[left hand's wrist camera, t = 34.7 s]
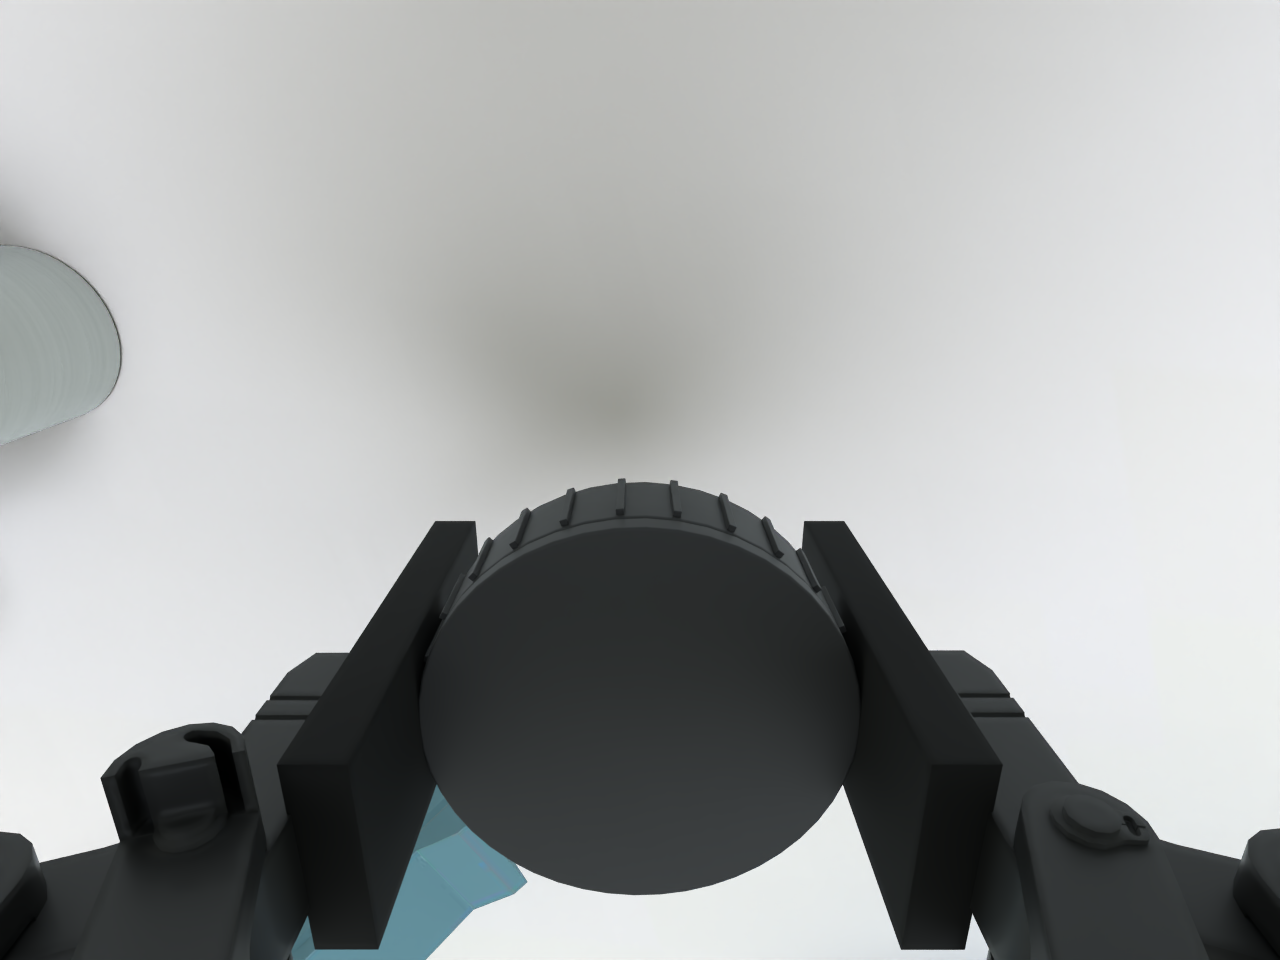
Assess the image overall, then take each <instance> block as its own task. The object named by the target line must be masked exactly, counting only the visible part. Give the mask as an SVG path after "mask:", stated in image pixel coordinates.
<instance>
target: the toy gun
mask: <svg viewBox="0 0 1280 960" xmlns="http://www.w3.org/2000/svg"><path fill="white" fill-rule="evenodd" d="M526 883H527V881H526V879H525V877H524V876H523V874H522V873H521V871H520V870H519V868H518V867H517V865H516V864H515V863H514V862H512V861H510V860H509V859H507V858H506V857H504V856H503V855H501V854H500V853H498V852H497V851H495V850H494V849H492V848H491V847H490V846H488V845H487V844H486V843H485V842H484V841H483V840H481V839H480V838H479V837H478V836H477V835H476V834H474V833H473V832H472V831H471V830H470V829H469V828H468V827H467V826H466V824H465V823H464V822H463V821H462V820H461V819H460V818H459V817H458V816H457V815H456V813H455V812H454V811H453V809H452V808H451V806H450V805H449V804H448V802H447V801H446V799H445V798H444V796H443V795H442V793H441V792H440V790H439V788H438V786H437V785H436V788H435V790H434V793H433V796H432V799H431V802H430V805H429V807H428V810H427V813H426V816H425V819H424V822H423V825H422V827H421V830H420V833H419V836H418V839H417V842H416V844H415V847H414V850H413V853H412V856H411V859H410V861H409V864H408V867H407V870H406V873H405V876H404V878H403V881H402V884H401V887H400V890H399V893H398V896H397V898H396V901H395V904H394V907H393V910H392V913H391V915H390V918H389V921H388V924H387V927H386V930H385V932H384V935H383V938H382V941H381V944H380V947H379V949H378V950H315V948H314V943H313V938H312V934H311V929H310V924H309V919H308V916H307V918H306V920H305V923H304V925H303V927H302V929H301V931H300V933H299V935H298V938H297V940H296V942H295V944H294V946H293V948H292V950H291V951H292V956H293V960H426V959H427V958H428V957H429V956H430V955H431V954H432V953H433V951H434V950H435V949H436V948H437V947H438V946H439V945H440V944H441V943H442V942H443V941H444V940H445V939H446V938H447V937H448V936H449V935H450V934H451V933H452V932H453V931H454V929H455V928H456V927H457V926H458V925H459V924H460V923H461V922H462V921H463V920H464V919H465V918H466V917H467V916H468V915H469V914H470V913H471V912H472V911H473V910H474V909H476V908H479V907H482V906H484V905H487V904H489V903H492V902H494V901H497V900H500V899H502V898H505V897H507V896H510V895H513V894H515V893H516V892H517V891H518V890H519V889H520V888H521V887H522V886H524V885H525V884H526Z"/></svg>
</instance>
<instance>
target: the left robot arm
mask: <svg viewBox="0 0 1280 960" xmlns="http://www.w3.org/2000/svg"><path fill="white" fill-rule="evenodd" d="M802 550H803V552H804V553H805V555H806V557H807V560H808V562H809V564H810V566H811V568H812V570H813V572H814V574H815V576H816V578H817V580H818V583H819V585H820V587H823V586H825V587H826V589H827V591H828V593H829V595H830V597H831V599H832V602H833V604H834V606H835V608H836V610H837V612H838V614H839V616H840V618H841V620H842V622H843V624H844V626H845V628H846V632H844V633H842V636H843V638H844V640H845V642H846V645H847V647H848V650H849V652H850V654H851V657H852V659H853V661H854V665H855V670H856V674H857V678H858V682H859V686H860V698H861V715H860V724H859V733H858V740H857V747H856V751H855V756H854V759H853V762H852V764H851V767H850V769H849V772H848V774H847V777H846V779H845V781H844V783H843V786H844V789H845V792H846V795H847V797H848V800H849V803H850V806H851V809H852V812H853V814H854V817H855V820H856V823H857V826H858V829H859V832H860V834H861V837H862V840H863V843H864V846H865V849H866V851H867V854H868V857H869V860H870V863H871V866H872V868H873V871H874V874H875V877H876V880H877V883H878V885H879V888H880V891H881V894H882V897H883V900H884V903H885V905H886V908H887V911H888V914H889V917H890V920H891V922H892V925H893V928H894V931H895V934H896V937H897V939H898V942H899V945H900V948H901V950H965V946H966V941H967V936H968V931H969V926H970V922H971V917H972V913H973V916H974V918H975V920H976V922H977V924H978V926H979V928H980V930H981V933H982V935H983V937H984V939H985V941H986V943H987V945H988V947H989V951H988V956H987V960H1280V829H1270V830H1260V831H1259V832H1258V833H1257V834H1255V835H1254V836H1253V837H1252V838H1250V839H1249V840H1248V843H1247V845H1246V848H1245V851H1244V854H1243V856H1242V859H1241V860H1240V859H1236V858H1231V857H1227V856H1223V855H1218V854H1214V853H1210V852H1206V851H1201V850H1197V849H1193V848H1189V847H1184V846H1180V845H1176V844H1173V843H1169V842H1166V841H1163V840H1160V839H1159V838H1158V836H1157V835H1156V833H1155V832H1154V830H1153V829H1152V827H1151V826H1150V824H1149V823H1148V822H1147V821H1146V820H1145V819H1144V818H1143V817H1142V816H1140V815H1139V814H1138V813H1137V812H1136V811H1134V810H1133V809H1132V808H1131V807H1130V806H1128V805H1127V804H1126V803H1124V802H1122V801H1120V800H1118V799H1116V798H1114V797H1113V796H1111V795H1109V794H1107V793H1105V792H1103V791H1101V790H1098V789H1095V788H1091V787H1088V786H1085V785H1082V784H1079V783H1078V782H1077V781H1076V779H1075V778H1074V777H1073V775H1072V774H1071V773H1070V772H1069V770H1068V769H1067V768H1066V766H1065V765H1064V764H1063V762H1062V761H1061V760H1060V758H1059V757H1058V756H1057V755H1056V753H1055V752H1054V751H1053V749H1052V748H1051V747H1050V745H1049V744H1048V743H1047V741H1046V740H1045V739H1044V737H1043V736H1042V735H1041V734H1040V732H1039V731H1038V730H1037V728H1036V727H1035V726H1034V724H1033V723H1032V722H1031V720H1030V719H1029V718H1028V717H1025V715H1024V711H1023V710H1022V709H1021V707H1020V706H1019V705H1018V703H1017V702H1016V701H1015V699H1014V698H1010V693H1009V692H1008V690H1007V689H1006V688H1005V686H1004V685H1003V684H1002V682H1001V681H1000V680H999V678H998V677H997V676H996V675H995V673H994V672H993V671H992V670H991V669H990V668H988V667H987V666H985V665H984V664H982V663H981V662H980V661H978V660H977V659H975V658H974V657H972V656H971V655H969V654H968V653H967V652H965V651H929V650H928V649H927V647H926V646H925V644H924V643H923V641H922V640H921V638H920V637H919V635H918V634H917V632H916V630H915V629H914V627H913V626H912V624H911V623H910V621H909V620H908V618H907V617H906V615H905V614H904V612H903V611H902V609H901V608H900V606H899V604H898V603H897V601H896V600H895V598H894V597H893V595H892V594H891V592H890V591H889V589H888V588H887V586H886V585H885V583H884V581H883V580H882V578H881V577H880V575H879V574H878V572H877V571H876V569H875V568H874V566H873V565H872V563H871V562H870V560H869V558H868V557H867V555H866V554H865V552H864V551H863V549H862V548H861V546H860V545H859V543H858V542H857V540H856V539H855V537H854V535H853V534H852V532H851V531H850V529H849V528H848V526H847V525H846V523H845V522H844V521H804V530H803V542H802ZM477 557H478V548H477V535H476V523H475V521H435V522H434V524H433V526H432V527H431V529H430V530H429V532H428V533H427V535H426V536H425V538H424V539H423V541H422V542H421V544H420V545H419V547H418V549H417V550H416V552H415V553H414V555H413V556H412V558H411V559H410V561H409V562H408V564H407V565H406V567H405V568H404V570H403V572H402V573H401V575H400V576H399V578H398V579H397V581H396V582H395V584H394V585H393V587H392V588H391V590H390V591H389V593H388V594H387V596H386V598H385V599H384V601H383V602H382V604H381V605H380V607H379V608H378V610H377V611H376V613H375V614H374V616H373V617H372V619H371V621H370V622H369V624H368V625H367V627H366V628H365V630H364V631H363V633H362V634H361V636H360V637H359V639H358V640H357V642H356V644H355V645H354V647H353V648H352V650H351V651H350V653H315V654H314V655H312V656H311V657H310V658H308V659H307V660H305V661H304V662H302V663H301V664H300V665H298V666H297V667H295V668H294V669H292V670H291V671H289V672H288V673H287V674H286V676H285V677H284V678H283V680H282V681H281V682H280V684H279V685H278V686H277V687H276V689H275V690H274V691H273V693H272V694H271V695H270V700H267V701H266V702H265V703H264V705H263V706H262V707H261V709H260V710H259V711H258V713H257V714H256V718H255V720H251V722H250V723H249V724H248V726H247V727H246V728H245V730H244V731H243V732H242V734H240V733H239V732H238V731H237V730H236V729H235V728H233V727H232V726H227V725H222V724H218V723H202V724H189V725H185V726H182V727H178V728H174V729H171V730H167V731H164V732H161V733H159V734H157V735H155V736H153V737H150V738H148V739H146V740H144V741H142V742H140V743H138V744H136V745H135V746H133V747H132V748H130V749H129V750H128V751H126V752H125V753H124V754H122V755H121V756H120V757H118V758H117V759H116V760H114V761H113V763H112V764H111V765H110V767H109V768H108V769H107V770H106V772H105V773H104V774H103V776H102V777H101V781H102V785H103V788H104V791H105V794H106V798H107V801H108V804H109V807H110V810H111V814H112V817H113V820H114V823H115V827H116V830H117V833H118V836H119V839H120V843H118V844H114V845H111V846H108V847H105V848H101V849H96V850H92V851H88V852H84V853H79V854H75V855H71V856H67V857H63V858H58V859H54V860H50V861H46V862H41V863H39V861H38V858H37V855H36V853H35V850H34V847H33V844H32V843H31V842H30V841H29V840H27V839H26V838H25V837H23V836H22V835H21V834H17V833H7V832H0V960H293V956H292V951H291V950H292V948H293V946H294V944H295V942H296V940H297V938H298V935H299V933H300V931H301V929H302V927H303V925H304V923H305V920H306V918H307V916H308V919H309V924H310V929H311V934H312V938H313V943H314V948H315V950H378V949H379V947H380V944H381V941H382V938H383V935H384V932H385V930H386V927H387V924H388V921H389V918H390V915H391V913H392V910H393V907H394V904H395V901H396V898H397V896H398V893H399V890H400V887H401V884H402V881H403V878H404V876H405V873H406V870H407V867H408V864H409V861H410V859H411V856H412V853H413V850H414V847H415V844H416V842H417V839H418V836H419V833H420V830H421V827H422V825H423V822H424V819H425V816H426V813H427V810H428V807H429V805H430V802H431V799H432V796H433V793H434V790H435V788H436V785H437V784H436V782H435V780H434V778H433V776H432V774H431V772H430V769H429V766H428V763H427V760H426V757H425V754H424V751H423V744H422V736H421V729H420V720H419V707H418V698H419V692H420V685H421V678H422V674H423V670H424V667H425V664H426V662H424V657H425V654H426V652H427V650H428V648H429V646H430V644H431V642H432V640H433V638H434V635H435V633H436V631H437V629H438V627H439V625H440V623H441V621H442V619H441V618H439V617H440V615H441V612H442V610H443V608H444V606H445V604H446V602H447V600H448V598H449V596H450V594H451V592H452V590H453V588H454V586H455V584H456V582H457V580H458V578H459V576H460V574H461V573H462V574H464V575H467V573H468V571H469V570H470V568H471V567H472V565H473V564H474V563H475V561H476V559H477Z"/></svg>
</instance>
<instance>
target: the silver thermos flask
mask: <svg viewBox="0 0 1280 960" xmlns="http://www.w3.org/2000/svg"><path fill="white" fill-rule="evenodd" d="M120 355H121V353H120V343H119V339H118V334H117V330H116V328H115V325H114V322H113V320H112V318H111V316H110V314H109V312H108V310H107V308H106V306H105V305H104V303H103V302H102V300H101V298H100V297H99V296H98V295H97V293H96V292H95V291H94V289H93V288H92V287H91V286H90V285H89V284H88V283H87V282H86V281H85V280H84V279H83V278H82V277H81V276H80V275H78V274H77V273H76V272H75V271H74V270H72V269H71V268H69V267H68V266H66V265H65V264H63V263H62V262H60V261H58V260H56V259H55V258H53V257H51V256H49V255H46V254H44V253H41V252H39V251H36V250H32V249H29V248H25V247H19V246H5V245H0V446H1V445H4V444H7V443H9V442H12V441H15V440H17V439H20V438H23V437H25V436H28V435H31V434H33V433H36V432H39V431H41V430H44V429H47V428H49V427H52V426H55V425H57V424H60V423H63V422H65V421H68V420H71V419H73V418H76V417H79V416H81V415H84V414H86V413H88V412H90V411H91V410H93V409H95V408H96V407H97V406H99V405H100V404H101V403H102V402H103V401H104V400H105V399H106V397H107V396H108V395H109V394H110V392H111V390H112V388H113V387H114V385H115V382H116V380H117V377H118V373H119V368H120Z"/></svg>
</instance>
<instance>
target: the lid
mask: <svg viewBox="0 0 1280 960" xmlns="http://www.w3.org/2000/svg"><path fill="white" fill-rule="evenodd" d="M439 618H441V619H442V621H441V623H440V625H439V627H438V629H437V631H436V633H435V635H434V638H433V640H432V642H431V644H430V646H429V648H428V650H427V652H426V654H425V657H424V662H426V664H425V667H424V670H423V674H422V678H421V685H420V692H419V698H418V707H419V720H420V729H421V736H422V744H423V751H424V754H425V757H426V760H427V763H428V766H429V769H430V772H431V774H432V776H433V778H434V780H435V782H436V784H437V786H438V788H439V790H440V792H441V793H442V795H443V796H444V798H445V799H446V801H447V802H448V804H449V805H450V806H451V808H452V809H453V811H454V812H455V813H456V815H457V816H458V817H459V818H460V819H461V820H462V821H463V822H464V823H465V824H466V826H467V827H468V828H469V829H470V830H471V831H472V832H473V833H474V834H476V835H477V836H478V837H479V838H480V839H481V840H483V841H484V842H485V843H486V844H487V845H488V846H490V847H491V848H492V849H494V850H495V851H497V852H498V853H500V854H501V855H503V856H504V857H506V858H507V859H509V860H510V861H512V862H514V863H516V864H518V865H520V866H522V867H524V868H525V869H527V870H529V871H531V872H533V873H536V874H538V875H541V876H543V877H546V878H548V879H551V880H554V881H556V882H559V883H563V884H566V885H570V886H574V887H577V888H581V889H586V890H592V891H598V892H604V893H611V894H626V895H655V894H667V893H675V892H683V891H689V890H693V889H697V888H702V887H706V886H710V885H714V884H717V883H719V882H722V881H725V880H728V879H731V878H734V877H737V876H739V875H741V874H743V873H745V872H748V871H750V870H752V869H754V868H756V867H758V866H760V865H762V864H764V863H765V862H767V861H768V860H770V859H772V858H773V857H775V856H777V855H778V854H780V853H782V852H783V851H784V850H785V849H787V848H788V847H789V846H791V845H792V844H793V843H794V842H796V841H797V840H798V839H800V838H801V837H802V836H803V835H804V834H805V833H806V832H807V831H808V830H809V829H810V828H811V827H812V826H813V825H814V824H815V823H816V822H817V821H818V820H819V819H820V817H821V816H822V815H823V813H824V812H825V811H826V810H827V808H828V807H829V806H830V804H831V803H832V802H833V800H834V799H835V797H836V795H837V793H838V792H839V790H840V788H841V786H842V785H843V783H844V781H845V779H846V777H847V774H848V772H849V769H850V767H851V764H852V762H853V759H854V756H855V751H856V747H857V740H858V733H859V724H860V715H861V698H860V686H859V682H858V678H857V674H856V670H855V665H854V661H853V659H852V657H851V654H850V652H849V650H848V647H847V645H846V642H845V640H844V638H843V636H842V633H844V632H846V628H845V626H844V624H843V622H842V620H841V618H840V616H839V614H838V612H837V610H836V608H835V606H834V604H833V602H832V599H831V597H830V595H829V593H828V591H827V589H826V587H825V586H823V587H820V585H819V583H818V580H817V578H816V576H815V574H814V572H813V570H812V568H811V566H810V564H809V562H808V560H807V557H806V555H805V553H804V552H803V550H802V549H801V548H799V549H798V550H797V551H796V550H795V549H794V548H793V547H792V546H791V544H790V543H789V542H788V541H787V540H786V539H784V538H783V537H782V536H781V535H780V534H779V533H778V532H777V531H776V530H774V528H773V525H772V523H771V521H770V519H768V518H767V517H766V516H765V517H764V518H763V519H762V520H761V519H760V518H758V517H757V516H755V515H754V514H752V513H751V512H749V511H748V510H746V509H744V508H742V507H740V506H738V505H736V504H734V503H732V502H730V501H729V500H728V497H727V495H725V494H723V493H720V495H719V497H717V496H714V495H712V494H709V493H706V492H703V491H700V490H696V489H691V488H686V487H682V486H678V481H674V480H671V481H670V484H660V483H649V482H638V483H626V480H625V478H624V479H618V483H616V484H610V485H604V486H597V487H591V488H588V489H584V490H581V491H577V492H575V489H574V488H571V489H568V490H567V493H566V495H564V496H562V497H559V498H557V499H555V500H552V501H550V502H548V503H546V504H543V505H541V506H539V507H537V508H536V509H534V510H532V511H531V512H530V510H529V509H528V508H526V509H524V510H523V511H522V512H521V515H520V517H519V519H518V520H516V521H515V522H514V523H513V524H511V525H510V526H509V527H508V528H506V529H505V530H504V531H503V532H501V533H500V534H499V535H498V536H497V537H496V538H495V539H494V540H492V539H491V538H490V537H489V538H488V539H487V540H486V541H485V542H484V544H483V547H482V549H481V551H480V553H479V555H478V557H477V559H476V561H475V563H474V564H473V565H472V567H471V568H470V570H469V571H468V573H467V575H464V574H462V573H461V574H460V576H459V578H458V580H457V582H456V584H455V586H454V588H453V590H452V592H451V594H450V596H449V598H448V600H447V602H446V604H445V606H444V608H443V610H442V612H441V615H440V617H439Z"/></svg>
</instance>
